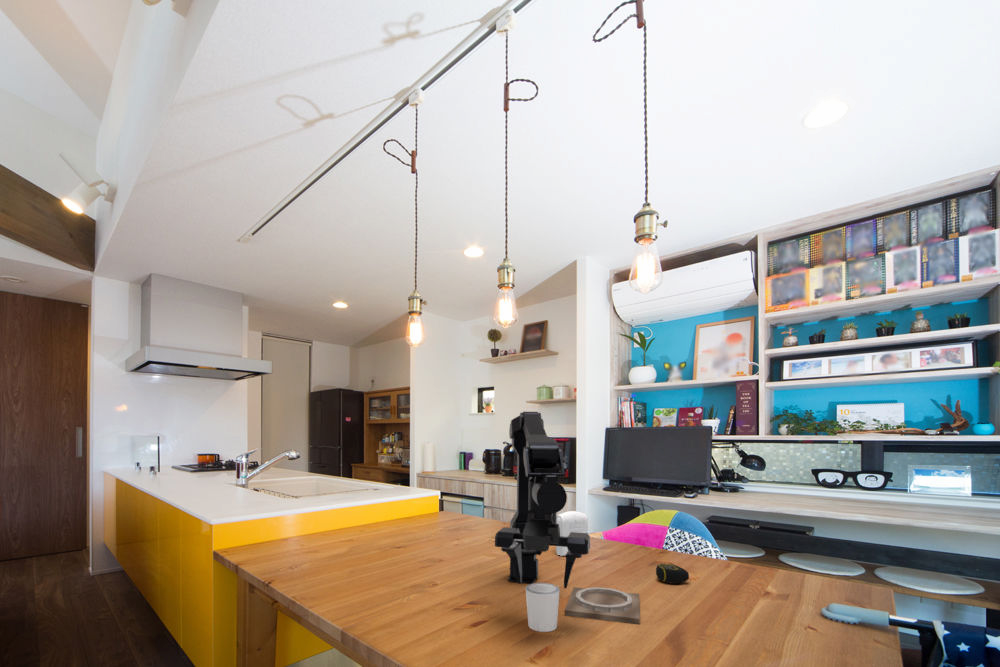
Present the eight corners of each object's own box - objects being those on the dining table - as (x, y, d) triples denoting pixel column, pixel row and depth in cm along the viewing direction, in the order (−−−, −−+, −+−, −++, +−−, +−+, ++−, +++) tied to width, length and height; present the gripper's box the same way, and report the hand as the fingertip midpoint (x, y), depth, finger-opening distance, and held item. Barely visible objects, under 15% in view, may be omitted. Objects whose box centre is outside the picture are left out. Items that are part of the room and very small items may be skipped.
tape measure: (690, 585, 123) (690, 569, 124) (667, 587, 121) (666, 571, 121) (673, 576, 129) (672, 561, 130) (650, 578, 127) (650, 563, 128)
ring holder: (564, 615, 102) (564, 605, 103) (573, 591, 116) (573, 582, 117) (639, 624, 98) (639, 613, 99) (639, 598, 112) (639, 589, 113)
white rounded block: (582, 550, 153) (581, 509, 156) (590, 554, 150) (589, 511, 152) (553, 553, 149) (553, 511, 151) (561, 557, 145) (560, 513, 148)
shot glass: (523, 619, 100) (523, 582, 101) (556, 618, 101) (556, 581, 102) (527, 633, 93) (527, 593, 94) (563, 632, 94) (563, 593, 95)
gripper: (487, 508, 96) (486, 594, 93) (584, 514, 91) (585, 605, 88) (502, 499, 106) (501, 576, 104) (589, 504, 101) (591, 585, 99)
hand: (542, 585), depth 98 cm, fingers open, 9 cm apart
